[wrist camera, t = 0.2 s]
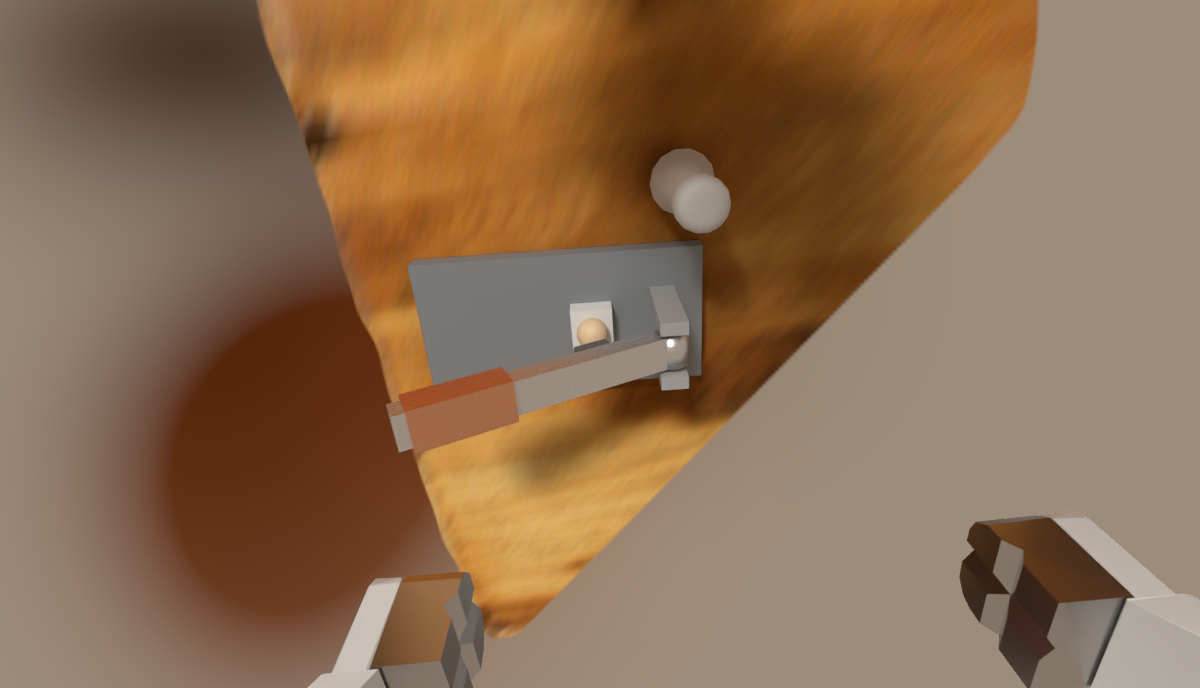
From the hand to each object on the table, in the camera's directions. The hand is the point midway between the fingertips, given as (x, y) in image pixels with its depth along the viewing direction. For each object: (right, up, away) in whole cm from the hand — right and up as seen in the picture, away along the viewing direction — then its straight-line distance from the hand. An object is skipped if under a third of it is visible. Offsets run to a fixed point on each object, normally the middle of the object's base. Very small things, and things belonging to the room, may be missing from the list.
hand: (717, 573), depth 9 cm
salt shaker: (+5, +19, +44) cm, 48 cm away
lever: (-7, +1, +38) cm, 39 cm away
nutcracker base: (-6, +7, +49) cm, 50 cm away
